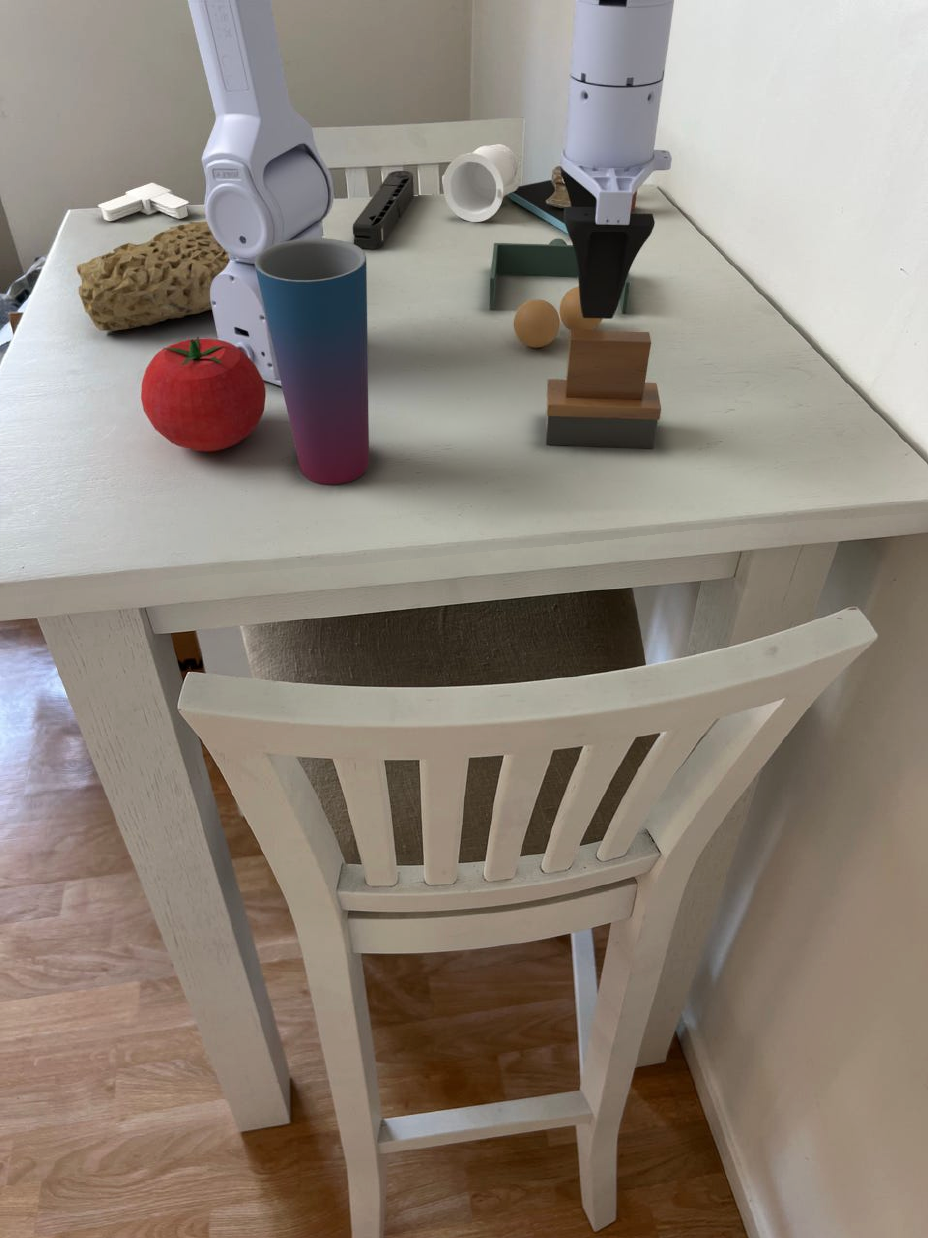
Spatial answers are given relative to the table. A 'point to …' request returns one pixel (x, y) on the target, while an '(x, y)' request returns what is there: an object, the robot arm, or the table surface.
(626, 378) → the brush
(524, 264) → the green u-shaped pusher
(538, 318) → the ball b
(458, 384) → the table surface
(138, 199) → the corner connector
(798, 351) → the table surface
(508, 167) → the downlight
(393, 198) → the tablet stand
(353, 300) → the cup
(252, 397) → the tomato
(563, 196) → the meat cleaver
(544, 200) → the smartphone
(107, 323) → the sponge
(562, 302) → the ball
